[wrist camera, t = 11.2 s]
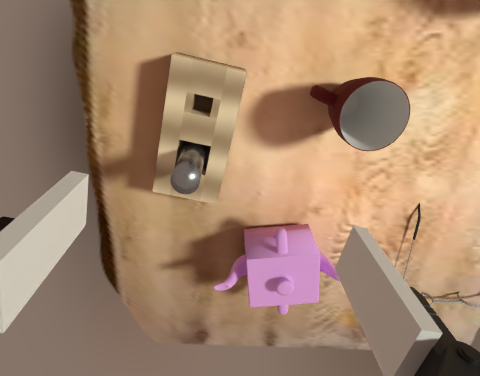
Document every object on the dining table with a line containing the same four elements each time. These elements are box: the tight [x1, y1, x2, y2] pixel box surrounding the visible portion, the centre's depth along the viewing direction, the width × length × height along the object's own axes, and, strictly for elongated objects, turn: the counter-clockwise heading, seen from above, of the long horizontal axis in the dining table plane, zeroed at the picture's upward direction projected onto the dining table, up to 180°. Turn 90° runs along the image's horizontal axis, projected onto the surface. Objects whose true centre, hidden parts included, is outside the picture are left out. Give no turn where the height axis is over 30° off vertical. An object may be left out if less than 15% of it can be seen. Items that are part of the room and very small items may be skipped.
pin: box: [170, 141, 207, 194], centre depth 42 cm, size 3×3×12 cm
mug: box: [310, 77, 410, 151], centre depth 42 cm, size 11×8×10 cm
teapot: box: [214, 224, 340, 314], centre depth 51 cm, size 15×13×11 cm
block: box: [152, 53, 247, 204], centre depth 45 cm, size 18×9×5 cm, turn 167°
